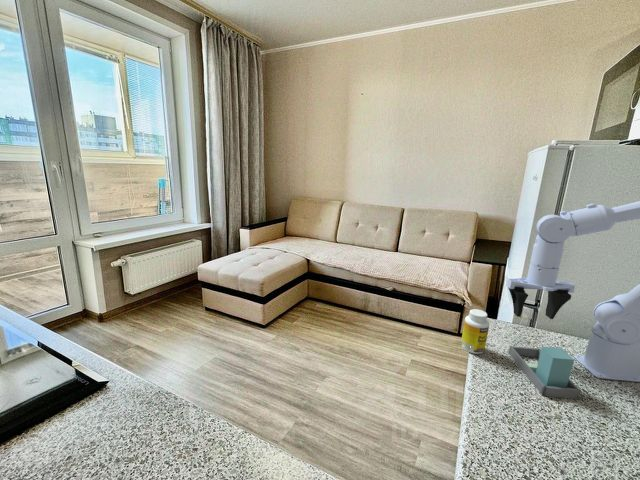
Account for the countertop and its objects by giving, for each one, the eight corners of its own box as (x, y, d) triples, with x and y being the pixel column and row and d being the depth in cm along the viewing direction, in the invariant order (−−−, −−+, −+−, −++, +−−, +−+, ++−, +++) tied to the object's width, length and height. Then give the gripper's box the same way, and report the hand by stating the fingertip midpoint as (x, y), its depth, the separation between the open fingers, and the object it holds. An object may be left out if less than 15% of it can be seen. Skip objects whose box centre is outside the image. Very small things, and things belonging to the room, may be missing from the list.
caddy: (538, 355, 76) (539, 348, 76) (578, 399, 62) (581, 390, 62) (508, 353, 77) (509, 346, 77) (542, 395, 63) (544, 387, 63)
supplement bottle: (476, 357, 75) (483, 320, 72) (456, 346, 79) (461, 310, 77) (488, 350, 78) (495, 314, 75) (468, 340, 82) (474, 305, 80)
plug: (553, 379, 68) (561, 348, 66) (565, 392, 64) (574, 359, 62) (534, 377, 68) (541, 346, 66) (545, 390, 65) (553, 357, 63)
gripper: (521, 268, 70) (510, 321, 74) (589, 272, 69) (575, 326, 72) (506, 259, 77) (497, 308, 80) (568, 262, 76) (556, 312, 79)
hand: (533, 315), depth 77 cm, fingers open, 7 cm apart
